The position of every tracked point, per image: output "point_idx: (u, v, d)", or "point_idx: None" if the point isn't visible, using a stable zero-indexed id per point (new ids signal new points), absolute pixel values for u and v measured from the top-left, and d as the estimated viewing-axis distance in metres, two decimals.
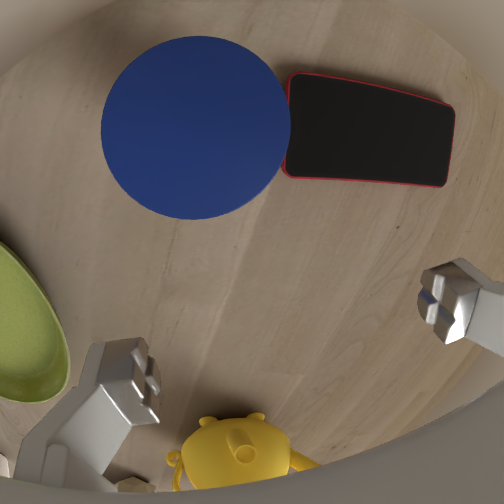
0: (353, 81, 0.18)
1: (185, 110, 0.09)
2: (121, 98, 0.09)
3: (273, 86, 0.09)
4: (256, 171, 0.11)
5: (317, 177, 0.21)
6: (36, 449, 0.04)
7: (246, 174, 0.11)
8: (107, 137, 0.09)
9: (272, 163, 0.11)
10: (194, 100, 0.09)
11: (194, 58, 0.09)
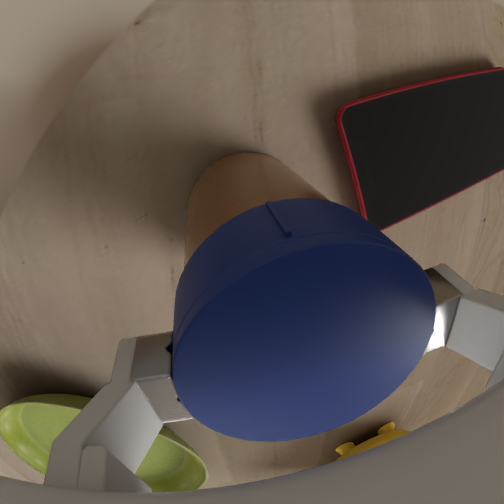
0: (409, 88, 0.13)
1: (299, 361, 0.06)
2: (196, 382, 0.06)
3: (411, 275, 0.06)
4: (401, 366, 0.07)
5: (404, 218, 0.17)
6: (69, 452, 0.04)
7: (390, 374, 0.07)
8: (203, 416, 0.07)
9: (418, 351, 0.07)
10: (307, 347, 0.06)
11: (284, 297, 0.06)
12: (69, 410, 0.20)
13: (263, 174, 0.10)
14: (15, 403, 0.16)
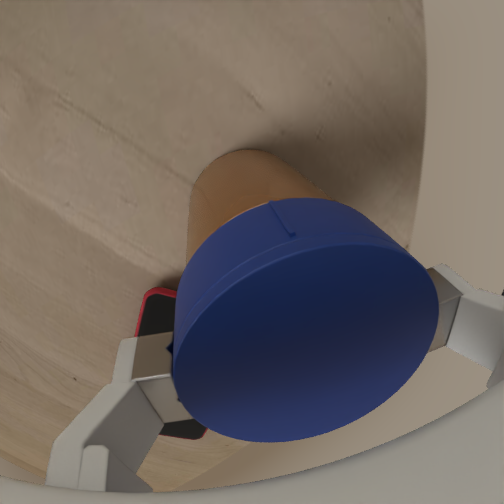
0: None
1: (301, 363, 0.06)
2: (197, 383, 0.06)
3: (416, 277, 0.06)
4: (403, 368, 0.07)
5: (140, 322, 0.17)
6: (70, 452, 0.04)
7: (392, 376, 0.07)
8: (203, 417, 0.07)
9: (420, 353, 0.07)
10: (310, 349, 0.06)
11: (287, 299, 0.06)
12: None
13: None
14: None
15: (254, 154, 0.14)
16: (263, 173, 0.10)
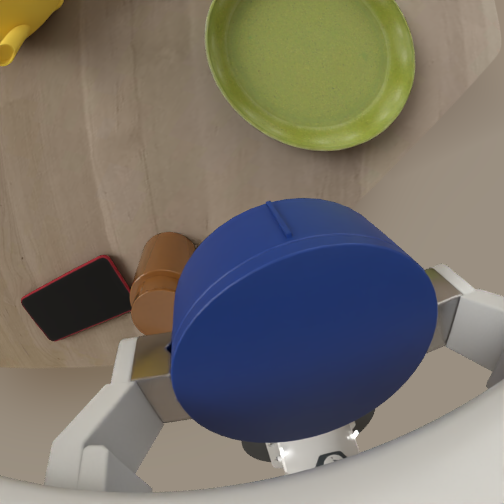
0: (108, 319, 0.34)
1: (299, 364, 0.06)
2: (195, 384, 0.06)
3: (414, 278, 0.06)
4: (402, 369, 0.07)
5: (88, 264, 0.30)
6: (70, 451, 0.04)
7: (391, 377, 0.07)
8: (202, 417, 0.07)
9: (419, 353, 0.07)
10: (307, 350, 0.06)
11: (284, 300, 0.06)
12: (318, 107, 0.28)
13: None
14: (355, 145, 0.28)
15: (188, 245, 0.31)
16: (185, 260, 0.28)
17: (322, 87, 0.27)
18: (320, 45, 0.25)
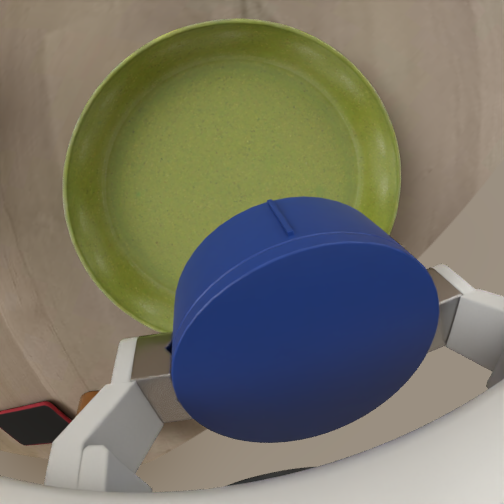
0: None
1: (300, 363, 0.06)
2: (196, 383, 0.06)
3: (415, 276, 0.06)
4: (403, 368, 0.07)
5: (34, 407, 0.25)
6: (70, 452, 0.04)
7: (392, 376, 0.07)
8: (202, 417, 0.07)
9: (420, 352, 0.07)
10: (309, 349, 0.06)
11: (285, 299, 0.05)
12: None
13: None
14: None
15: None
16: None
17: None
18: (247, 187, 0.20)
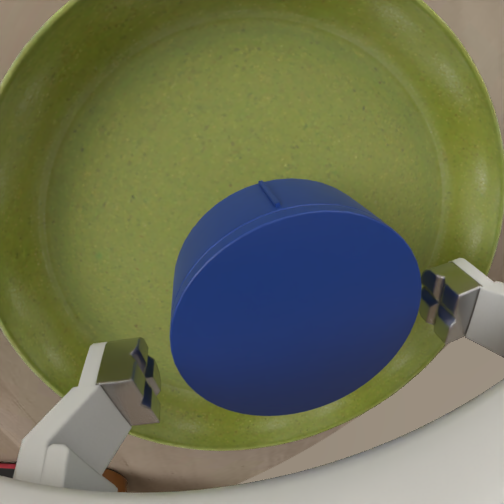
0: None
1: (289, 329, 0.07)
2: (192, 348, 0.07)
3: (395, 246, 0.07)
4: (390, 341, 0.08)
5: None
6: (36, 449, 0.04)
7: (380, 348, 0.08)
8: (199, 385, 0.07)
9: (406, 325, 0.08)
10: (297, 314, 0.07)
11: (273, 262, 0.06)
12: None
13: None
14: (333, 426, 0.15)
15: None
16: None
17: None
18: None
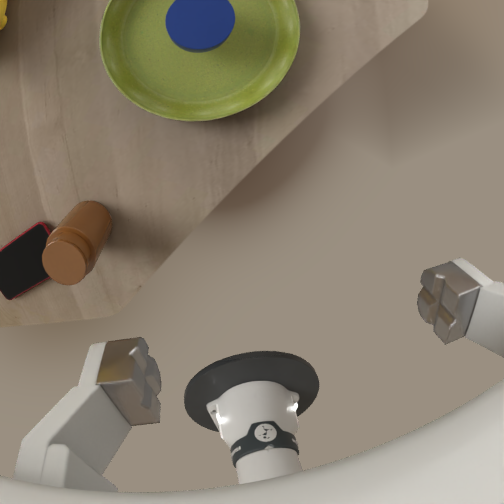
0: (47, 277, 0.37)
1: (194, 14, 0.22)
2: (170, 18, 0.22)
3: None
4: (227, 23, 0.23)
5: (29, 229, 0.33)
6: (36, 449, 0.04)
7: (224, 25, 0.23)
8: (170, 32, 0.23)
9: (231, 19, 0.23)
10: (196, 10, 0.22)
11: None
12: (204, 83, 0.30)
13: None
14: (235, 113, 0.30)
15: (100, 210, 0.34)
16: (89, 221, 0.31)
17: (207, 65, 0.29)
18: None
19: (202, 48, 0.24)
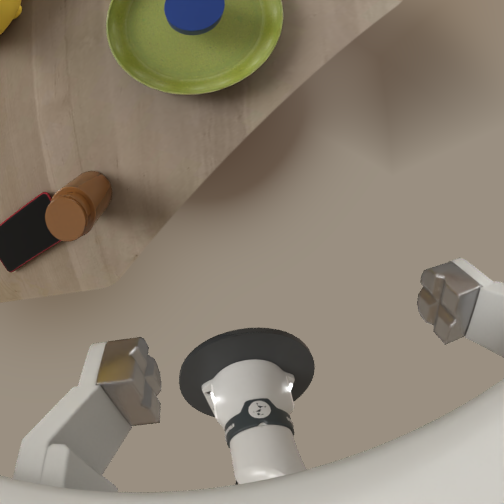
0: (48, 247, 0.39)
1: (189, 1, 0.25)
2: (168, 5, 0.25)
3: None
4: (217, 9, 0.26)
5: (33, 199, 0.36)
6: (36, 449, 0.04)
7: (215, 10, 0.26)
8: (168, 16, 0.25)
9: (221, 5, 0.26)
10: None
11: None
12: (198, 63, 0.33)
13: None
14: (225, 87, 0.33)
15: (101, 178, 0.36)
16: (91, 184, 0.33)
17: (201, 48, 0.32)
18: None
19: (196, 30, 0.27)
